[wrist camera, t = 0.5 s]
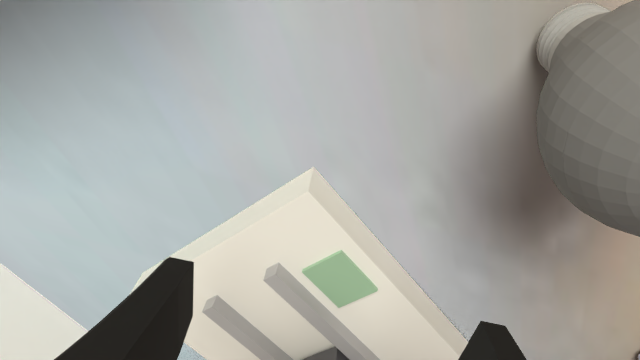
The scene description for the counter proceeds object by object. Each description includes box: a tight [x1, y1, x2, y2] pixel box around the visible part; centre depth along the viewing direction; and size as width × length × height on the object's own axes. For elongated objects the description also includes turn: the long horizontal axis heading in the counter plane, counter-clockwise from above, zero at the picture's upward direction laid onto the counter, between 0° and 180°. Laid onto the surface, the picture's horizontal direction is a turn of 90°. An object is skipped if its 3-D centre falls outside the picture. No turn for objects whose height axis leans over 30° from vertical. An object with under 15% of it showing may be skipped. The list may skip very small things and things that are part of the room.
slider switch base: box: [129, 167, 468, 360], centre depth 26 cm, size 20×13×3 cm, turn 38°
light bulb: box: [536, 0, 640, 237], centre depth 12 cm, size 6×6×10 cm
